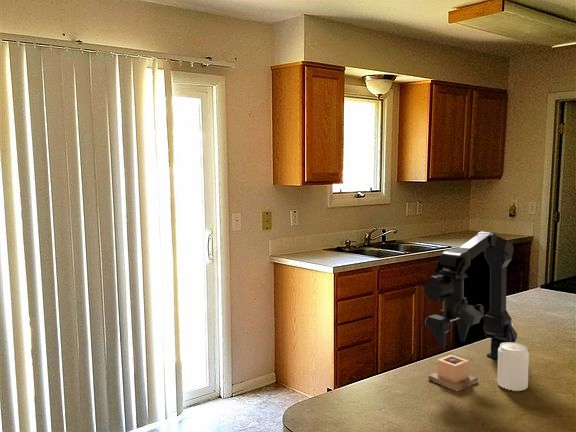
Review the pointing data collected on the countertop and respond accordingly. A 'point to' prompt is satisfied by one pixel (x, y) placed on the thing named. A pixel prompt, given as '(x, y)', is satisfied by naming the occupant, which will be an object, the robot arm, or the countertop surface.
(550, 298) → the countertop surface
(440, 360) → the collar
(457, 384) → the post stand
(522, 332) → the countertop surface
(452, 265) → the robot arm
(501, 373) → the beverage can
